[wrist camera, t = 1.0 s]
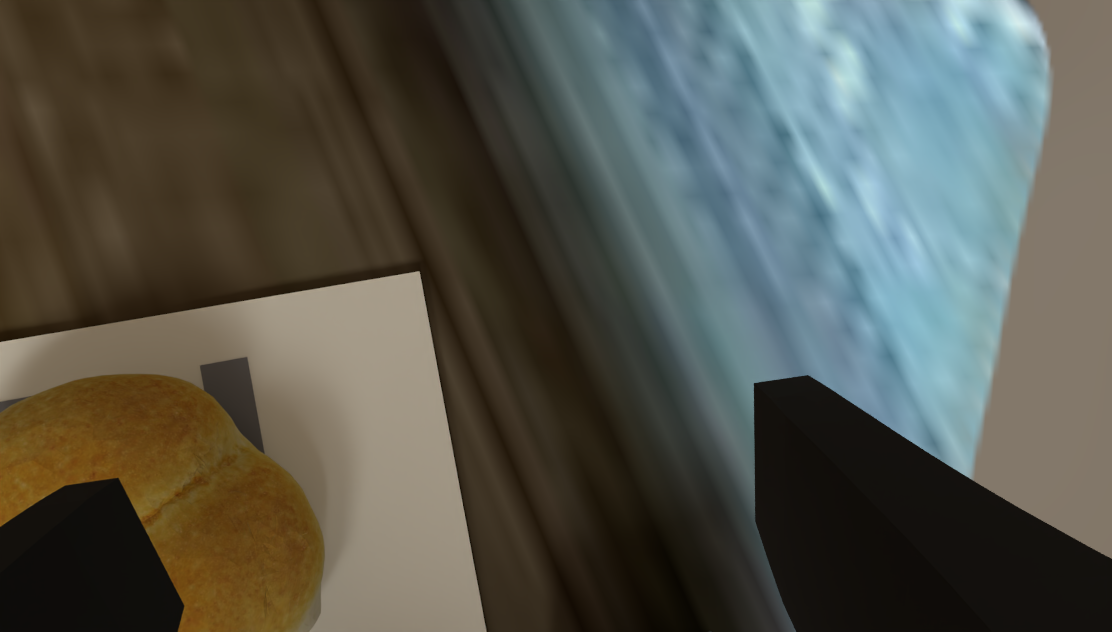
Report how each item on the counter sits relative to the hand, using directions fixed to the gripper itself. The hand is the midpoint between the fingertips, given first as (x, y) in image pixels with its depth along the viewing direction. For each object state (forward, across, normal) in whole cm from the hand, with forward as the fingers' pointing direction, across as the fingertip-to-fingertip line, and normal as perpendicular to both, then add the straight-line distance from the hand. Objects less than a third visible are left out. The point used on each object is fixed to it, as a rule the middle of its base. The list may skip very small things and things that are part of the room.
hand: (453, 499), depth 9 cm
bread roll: (+8, +10, +7) cm, 15 cm away
